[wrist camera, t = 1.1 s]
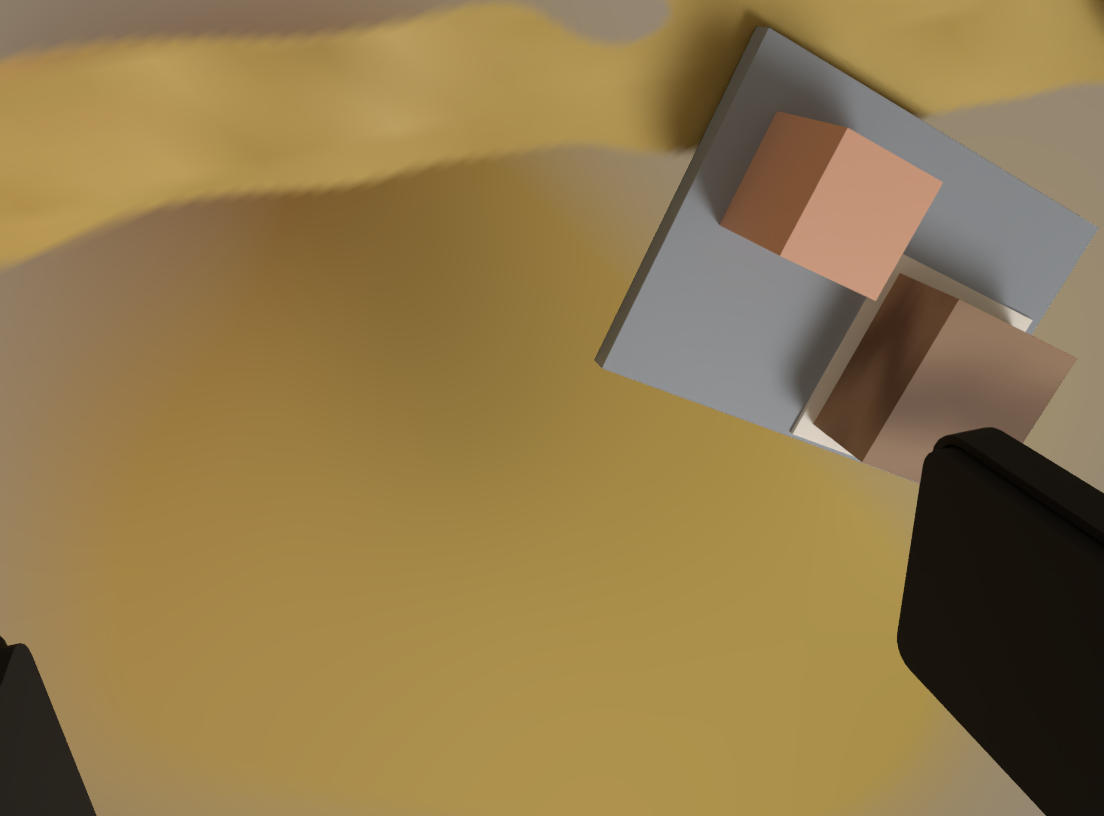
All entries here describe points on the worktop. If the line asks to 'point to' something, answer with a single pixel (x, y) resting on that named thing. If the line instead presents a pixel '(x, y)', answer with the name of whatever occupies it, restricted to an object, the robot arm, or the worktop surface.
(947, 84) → the worktop surface
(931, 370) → the base block
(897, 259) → the top cube
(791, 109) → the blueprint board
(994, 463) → the robot arm
